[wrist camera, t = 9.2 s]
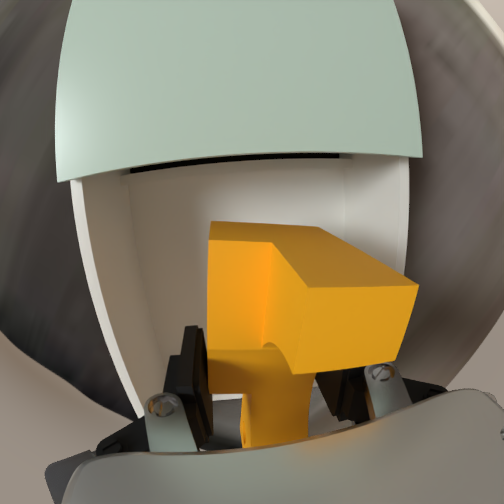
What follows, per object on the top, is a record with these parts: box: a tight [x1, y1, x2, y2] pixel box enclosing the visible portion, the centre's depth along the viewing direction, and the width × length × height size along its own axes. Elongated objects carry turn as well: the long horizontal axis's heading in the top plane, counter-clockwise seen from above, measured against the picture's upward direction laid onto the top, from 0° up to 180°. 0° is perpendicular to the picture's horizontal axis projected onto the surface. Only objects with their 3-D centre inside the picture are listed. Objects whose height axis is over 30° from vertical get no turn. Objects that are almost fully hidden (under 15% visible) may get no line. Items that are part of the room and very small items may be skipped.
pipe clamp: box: [207, 221, 419, 448], centre depth 9 cm, size 12×4×6 cm, turn 176°
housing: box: [70, 153, 409, 418], centre depth 14 cm, size 15×32×7 cm, turn 4°
